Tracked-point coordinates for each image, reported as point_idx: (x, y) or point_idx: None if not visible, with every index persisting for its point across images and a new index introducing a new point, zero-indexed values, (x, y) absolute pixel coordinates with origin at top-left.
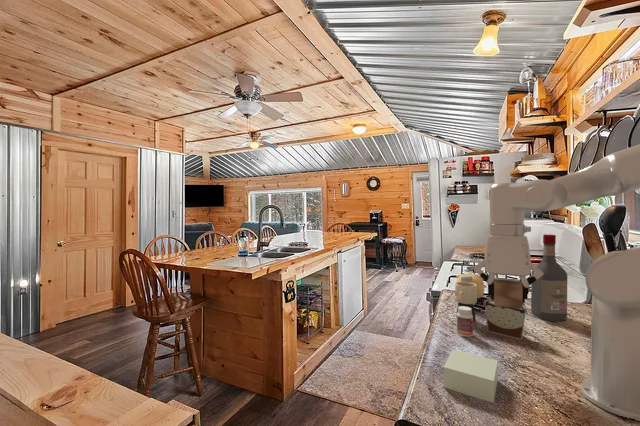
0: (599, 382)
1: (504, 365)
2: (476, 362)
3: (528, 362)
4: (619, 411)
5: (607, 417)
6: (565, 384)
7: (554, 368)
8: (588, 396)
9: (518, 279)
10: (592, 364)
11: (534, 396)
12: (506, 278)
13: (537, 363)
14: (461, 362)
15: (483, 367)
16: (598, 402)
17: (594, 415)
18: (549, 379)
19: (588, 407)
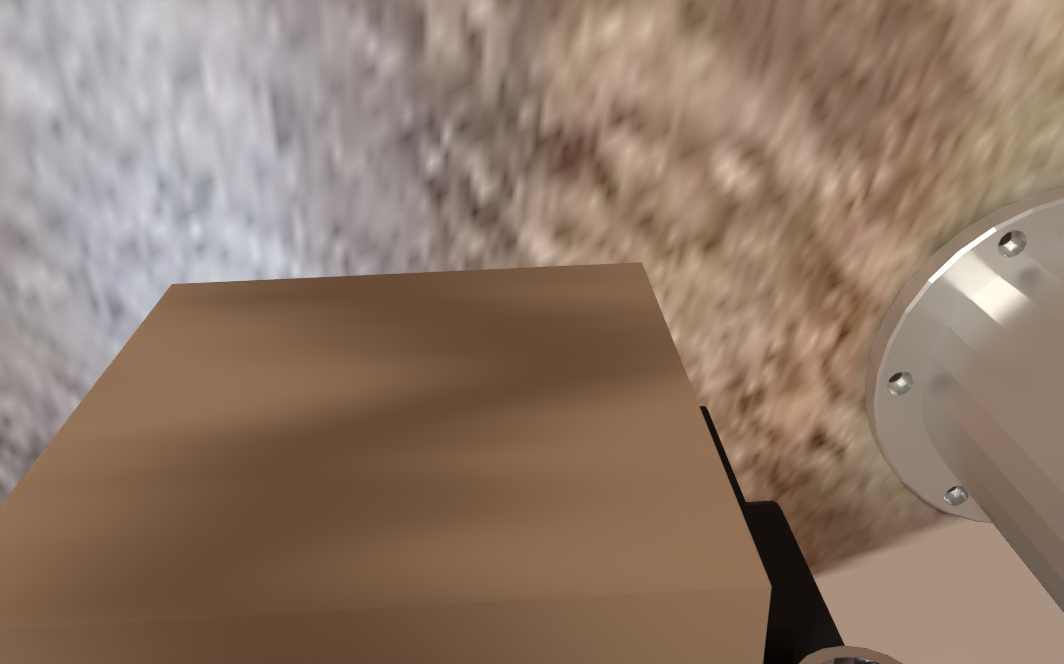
0: (976, 498)
1: (433, 205)
2: None
3: (624, 47)
4: (967, 518)
5: (893, 527)
6: (805, 292)
7: (809, 64)
8: (877, 439)
9: (744, 604)
10: (1017, 500)
11: None
12: (361, 617)
13: (695, 30)
14: None
15: None
16: (903, 481)
17: (838, 538)
18: (720, 271)
19: (839, 484)
